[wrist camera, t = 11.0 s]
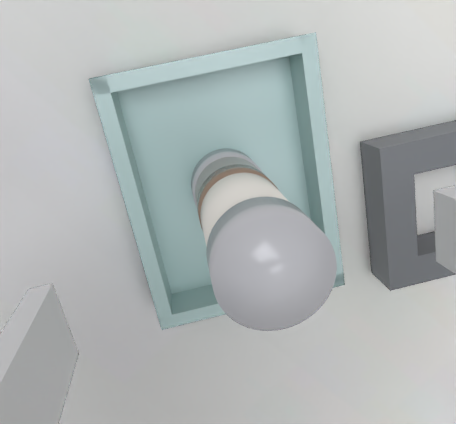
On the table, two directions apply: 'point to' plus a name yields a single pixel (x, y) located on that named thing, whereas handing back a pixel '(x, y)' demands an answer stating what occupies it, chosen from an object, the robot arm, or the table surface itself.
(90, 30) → the table surface
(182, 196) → the parts tray
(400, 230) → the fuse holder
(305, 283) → the grey-white banded cylinder
